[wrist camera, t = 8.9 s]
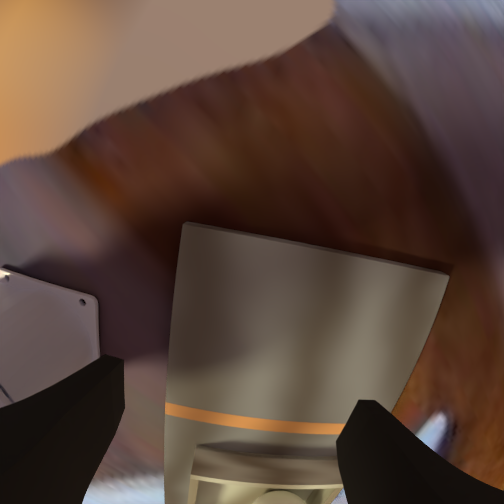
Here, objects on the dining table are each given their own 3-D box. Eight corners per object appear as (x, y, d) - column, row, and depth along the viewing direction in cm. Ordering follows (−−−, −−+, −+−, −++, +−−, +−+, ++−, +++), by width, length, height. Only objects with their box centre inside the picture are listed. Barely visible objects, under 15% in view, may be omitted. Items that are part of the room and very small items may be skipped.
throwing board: (166, 500, 23) (160, 529, 19) (186, 221, 16) (167, 235, 12) (313, 514, 24) (317, 541, 20) (441, 271, 17) (477, 292, 13)
